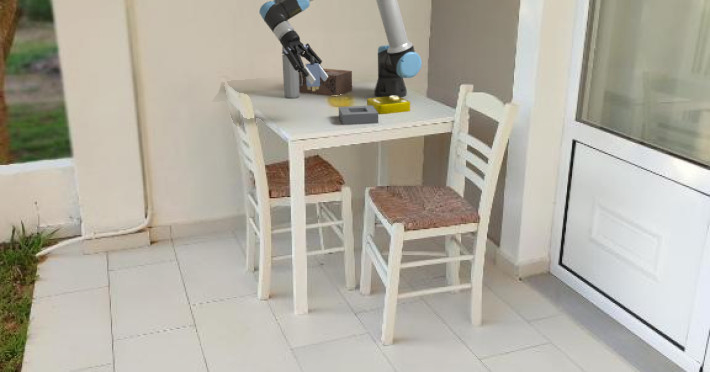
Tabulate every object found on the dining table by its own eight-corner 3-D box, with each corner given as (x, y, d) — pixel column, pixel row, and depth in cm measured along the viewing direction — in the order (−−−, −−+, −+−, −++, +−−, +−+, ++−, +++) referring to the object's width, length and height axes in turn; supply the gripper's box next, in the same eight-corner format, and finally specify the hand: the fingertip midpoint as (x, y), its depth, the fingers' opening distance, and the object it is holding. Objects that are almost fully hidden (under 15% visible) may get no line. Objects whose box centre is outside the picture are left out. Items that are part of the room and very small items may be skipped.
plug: (319, 88, 264) (317, 55, 260) (320, 90, 259) (319, 57, 255) (306, 88, 263) (305, 56, 259) (307, 91, 259) (306, 57, 254)
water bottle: (287, 99, 303) (285, 44, 295) (281, 96, 310) (278, 42, 302) (306, 97, 307) (304, 42, 299) (299, 94, 314) (297, 40, 306)
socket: (372, 114, 272) (372, 105, 271) (378, 123, 259) (378, 113, 258) (338, 116, 271) (338, 106, 269) (343, 124, 258) (342, 114, 256)
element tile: (365, 108, 286) (365, 97, 285) (397, 104, 291) (397, 94, 290) (379, 115, 273) (379, 104, 271) (412, 112, 278) (412, 100, 276)
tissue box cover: (291, 92, 320) (290, 71, 317) (307, 87, 332) (306, 67, 329) (336, 97, 308) (336, 75, 305) (352, 91, 320) (351, 70, 316)
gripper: (299, 39, 272) (330, 82, 268) (264, 45, 257) (298, 91, 253) (308, 26, 267) (340, 70, 263) (274, 32, 252) (308, 78, 248)
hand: (319, 80), depth 258 cm, fingers closed on plug, 7 cm apart
